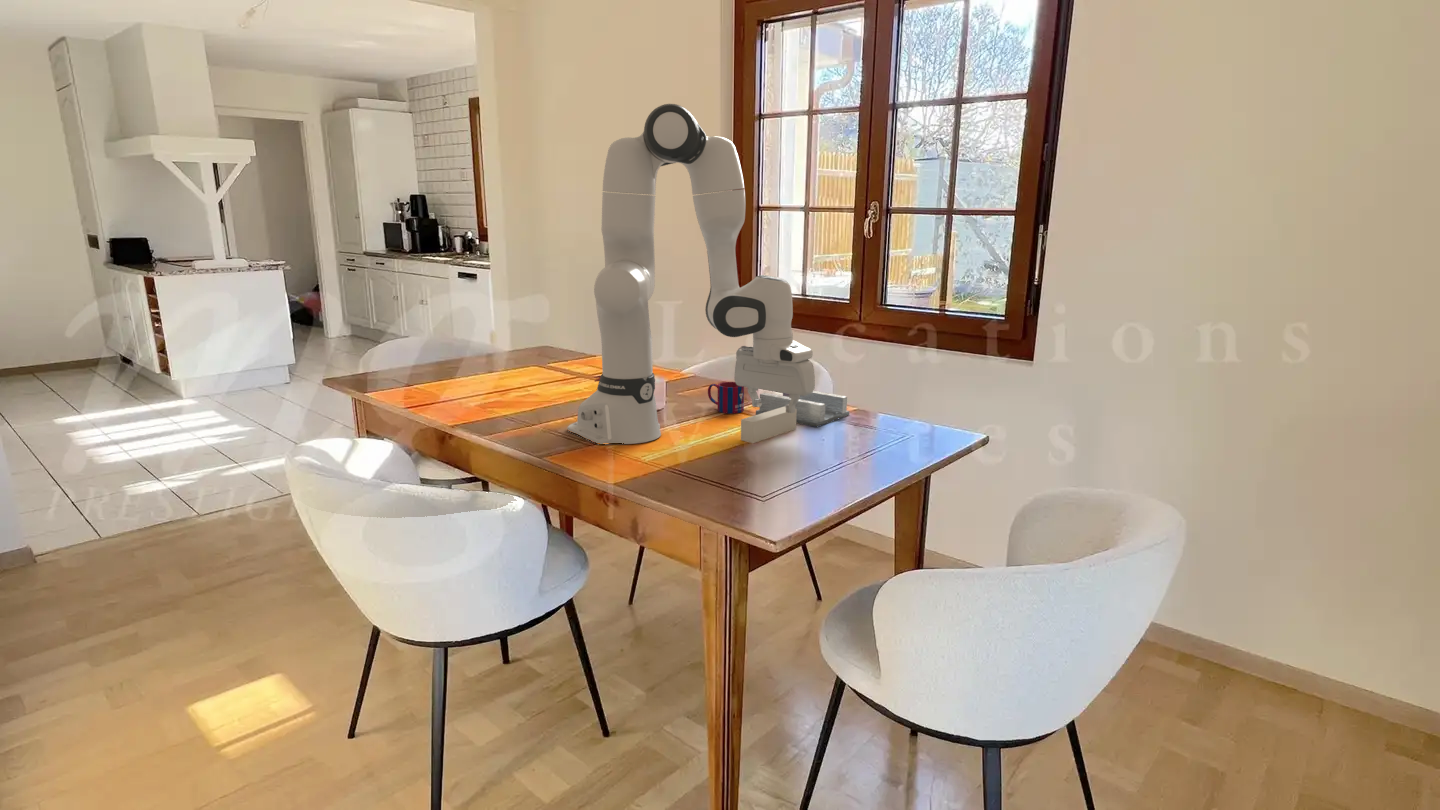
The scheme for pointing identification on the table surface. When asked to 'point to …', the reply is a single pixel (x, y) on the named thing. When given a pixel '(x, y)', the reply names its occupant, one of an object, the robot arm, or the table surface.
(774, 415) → the clay strip
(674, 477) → the table surface
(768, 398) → the grey channel stand
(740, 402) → the mug
